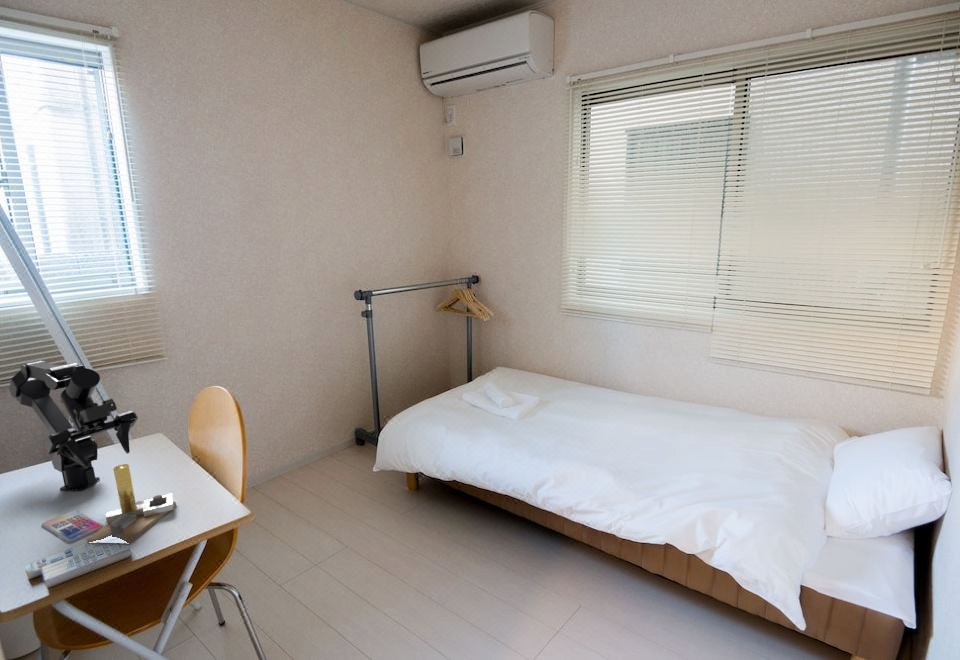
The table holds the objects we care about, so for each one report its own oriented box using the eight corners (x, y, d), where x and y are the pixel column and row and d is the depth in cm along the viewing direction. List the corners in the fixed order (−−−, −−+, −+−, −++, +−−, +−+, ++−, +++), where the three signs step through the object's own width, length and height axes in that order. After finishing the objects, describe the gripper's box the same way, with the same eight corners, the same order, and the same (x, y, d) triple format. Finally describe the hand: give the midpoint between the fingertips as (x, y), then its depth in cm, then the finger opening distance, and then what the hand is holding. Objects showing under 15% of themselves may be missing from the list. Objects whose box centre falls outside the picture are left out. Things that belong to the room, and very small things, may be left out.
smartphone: (75, 509, 130) (105, 525, 122) (76, 512, 130) (106, 529, 123) (39, 523, 124) (68, 541, 116) (40, 527, 124) (69, 545, 116)
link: (173, 498, 132) (165, 453, 130) (173, 509, 127) (165, 462, 124) (108, 514, 126) (99, 467, 123) (106, 526, 121) (96, 477, 118)
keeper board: (87, 543, 117) (83, 525, 116) (138, 504, 132) (136, 489, 131) (129, 544, 116) (126, 527, 115) (176, 505, 131) (173, 489, 130)
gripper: (42, 403, 120) (71, 461, 118) (129, 381, 136) (157, 432, 133) (33, 425, 126) (61, 481, 124) (118, 402, 142) (144, 450, 139)
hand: (108, 459), depth 130 cm, fingers open, 9 cm apart
